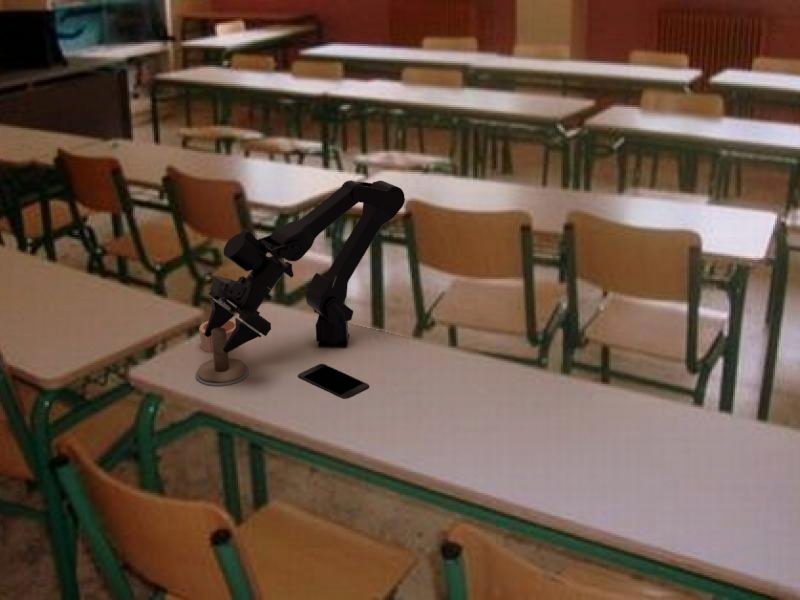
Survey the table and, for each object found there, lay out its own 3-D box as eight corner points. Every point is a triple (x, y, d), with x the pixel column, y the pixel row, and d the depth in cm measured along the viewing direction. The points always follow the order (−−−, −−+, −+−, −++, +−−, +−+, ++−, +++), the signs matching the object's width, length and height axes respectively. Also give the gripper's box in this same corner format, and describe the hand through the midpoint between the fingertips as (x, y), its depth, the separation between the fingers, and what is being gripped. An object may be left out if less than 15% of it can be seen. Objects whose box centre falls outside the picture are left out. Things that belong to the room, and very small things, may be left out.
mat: (253, 362, 205) (253, 360, 204) (243, 386, 194) (243, 384, 194) (202, 361, 205) (202, 360, 205) (190, 385, 195) (189, 384, 195)
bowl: (243, 336, 217) (241, 318, 215) (235, 353, 209) (234, 334, 207) (206, 336, 217) (204, 318, 215) (197, 352, 209) (195, 334, 207)
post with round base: (250, 361, 204) (247, 320, 200) (241, 383, 195) (237, 341, 191) (204, 361, 205) (200, 320, 201) (192, 383, 195) (188, 340, 192)
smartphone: (345, 401, 189) (345, 397, 188) (295, 378, 198) (295, 374, 198) (372, 388, 194) (371, 384, 193) (322, 366, 203) (321, 362, 203)
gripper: (213, 249, 200) (168, 309, 199) (253, 275, 186) (204, 341, 184) (250, 276, 207) (207, 335, 206) (291, 304, 193) (245, 367, 191)
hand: (215, 343), depth 196 cm, fingers open, 9 cm apart
